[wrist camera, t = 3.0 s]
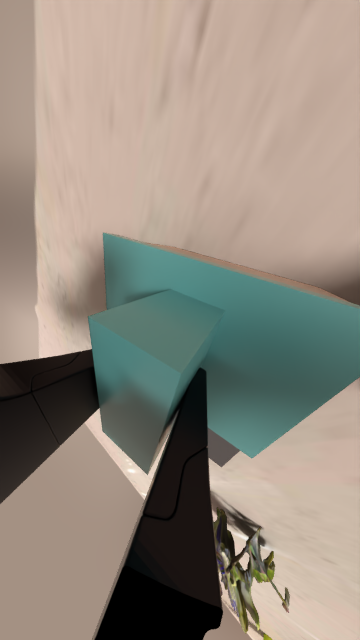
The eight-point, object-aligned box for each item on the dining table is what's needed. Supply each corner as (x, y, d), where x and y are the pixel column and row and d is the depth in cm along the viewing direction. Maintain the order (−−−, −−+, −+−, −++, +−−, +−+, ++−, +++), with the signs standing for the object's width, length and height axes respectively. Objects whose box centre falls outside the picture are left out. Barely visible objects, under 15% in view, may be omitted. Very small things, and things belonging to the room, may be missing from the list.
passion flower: (229, 479, 34) (190, 512, 28) (271, 499, 27) (231, 551, 20) (249, 552, 29) (207, 612, 23) (308, 603, 22) (269, 716, 15)
